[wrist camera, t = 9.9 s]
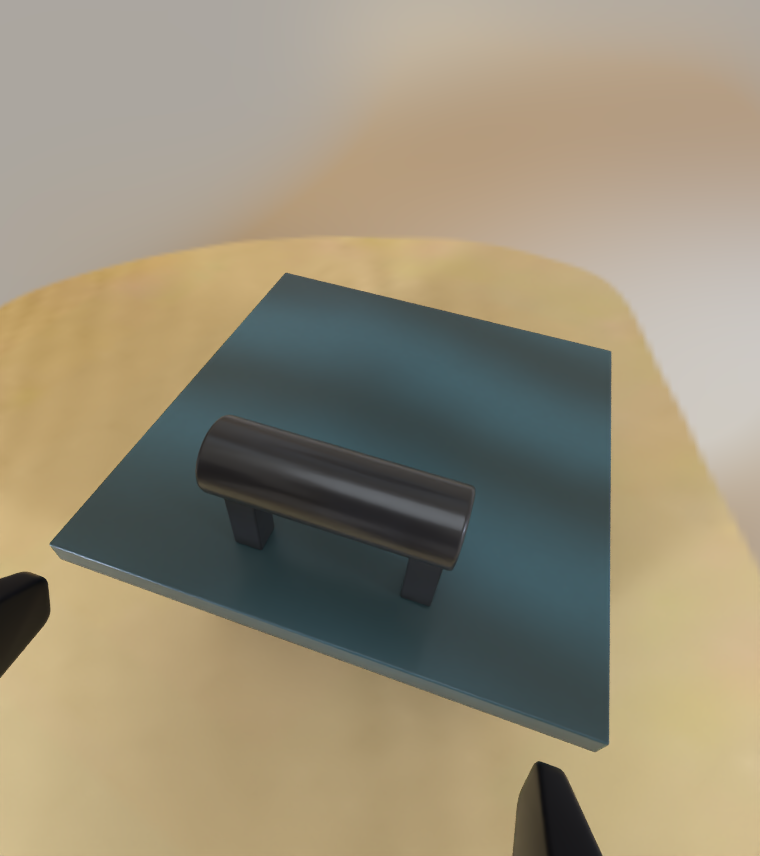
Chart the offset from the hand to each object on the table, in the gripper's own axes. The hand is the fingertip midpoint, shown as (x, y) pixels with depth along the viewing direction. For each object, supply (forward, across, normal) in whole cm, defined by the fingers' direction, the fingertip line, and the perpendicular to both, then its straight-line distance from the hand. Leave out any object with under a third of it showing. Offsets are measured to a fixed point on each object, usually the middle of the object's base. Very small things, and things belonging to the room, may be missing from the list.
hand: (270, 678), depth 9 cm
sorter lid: (+8, 0, -1) cm, 8 cm away
